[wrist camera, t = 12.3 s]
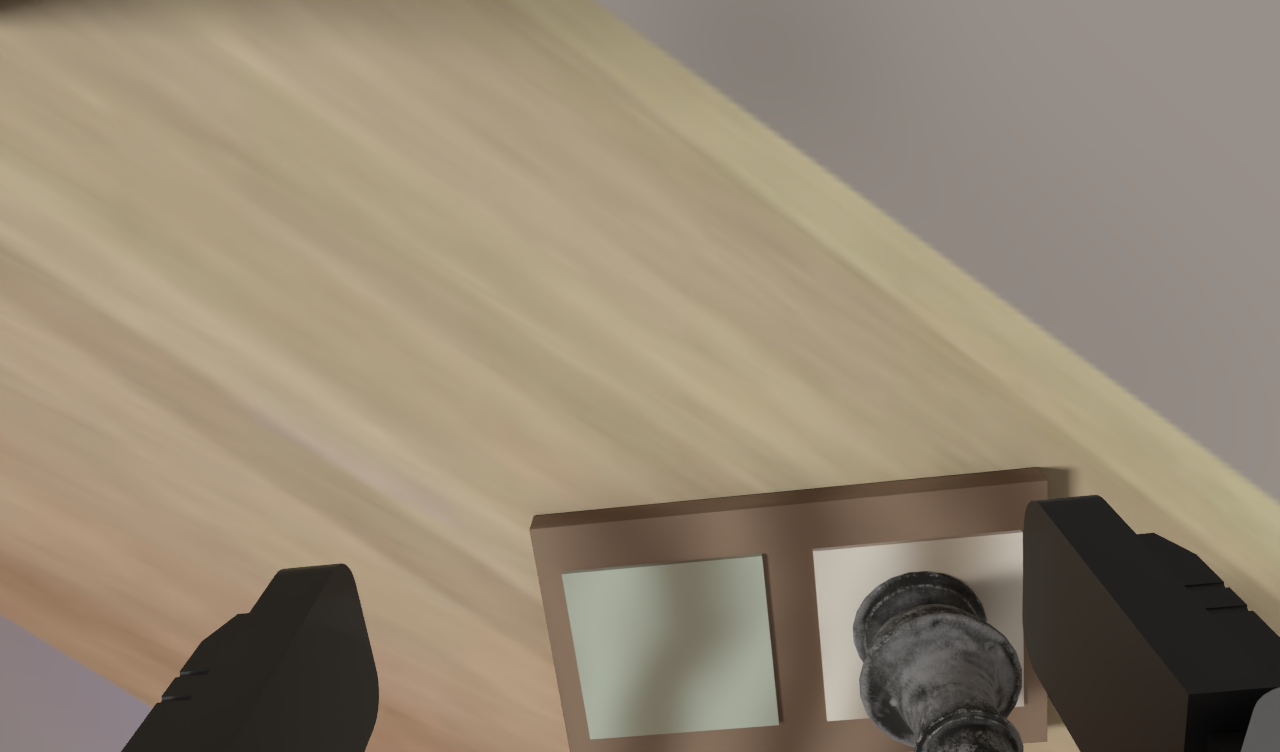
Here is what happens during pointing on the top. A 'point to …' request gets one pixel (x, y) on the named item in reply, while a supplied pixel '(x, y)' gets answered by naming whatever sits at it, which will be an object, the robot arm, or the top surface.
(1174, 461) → the top surface
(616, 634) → the board
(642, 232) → the top surface
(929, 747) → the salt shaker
